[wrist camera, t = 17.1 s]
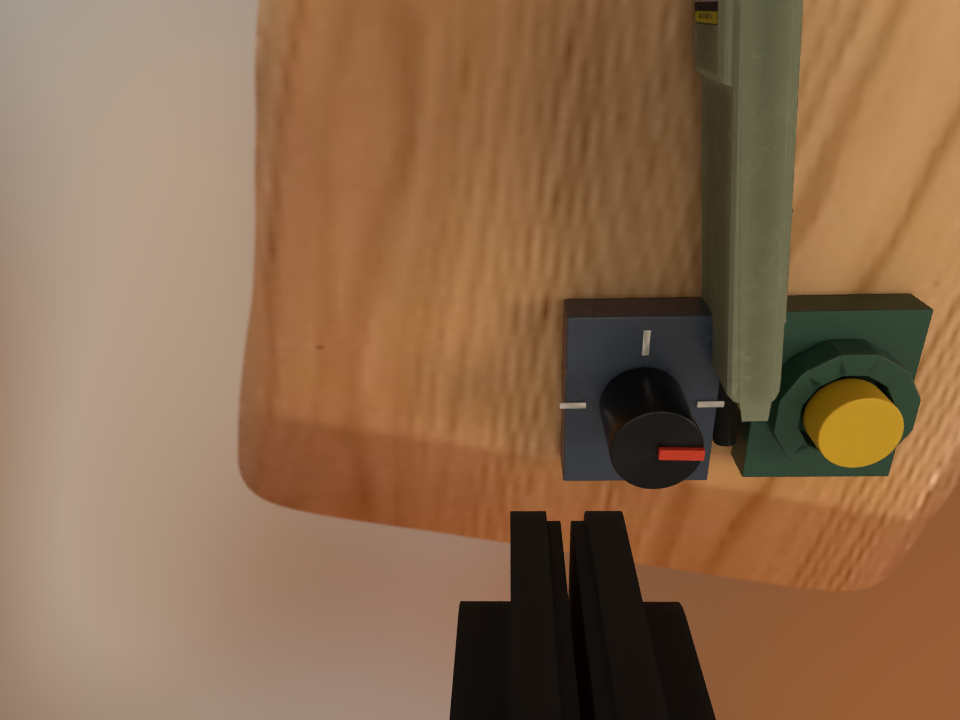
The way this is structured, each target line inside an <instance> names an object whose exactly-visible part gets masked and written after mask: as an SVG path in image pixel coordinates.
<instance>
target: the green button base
mask: <svg viewBox="0 0 960 720" xmlns="http://www.w3.org/2000/svg"><path fill="white" fill-rule="evenodd" d="M932 313H933V309H932V308H930V307H929V306H927V305H926V304H925V303H923V302H922V301H920V300H919V299H918V298H916V297H915V296H913V295H912V294H872V295H813V296H787V309H786V321H787V322H786V323H785V324H784V338H783V354H782V370H781V382H780V391H779V393H778V395H777V397H776V398H775V399H774V401H772V402H771V407H770V412H769V418H768V421H742V419H741V412H740V409H739V408H738V415H737V442H736V443H735V444H734V445H733V449H732V457H733V459H734V461H735V463H736V465H737V467H738V469H739V471H740V473H741V475H742V477H809V476H888V475H889V471H890V468H891V464H892V460H893V457H894V453H895V449H896V447H897V446H898V445H899V444H900V443H901V442H902V441H903V440H904V439H905V438H906V437H907V435H908V434H909V433H910V432H911V431H912V430H913V426H914V422H915V419H916V415H917V412H918V408H919V405H920V401H921V400H920V396H919V394H918V391H917V389H916V386H915V384H914V379H915V375H916V372H917V368H918V364H919V361H920V357H921V353H922V350H923V346H924V342H925V339H926V335H927V331H928V328H929V324H930V320H931V316H932ZM850 378H853V379H861V380H865V381H868V382H870V383H872V384H874V385H875V386H876V387H877V388H878V389H879V390H880V391H881V392H882V393H883V394H884V395H885V396H886V397H887V398H888V399H889V400H890V401H891V402H892V403H893V404H894V405H895V406H896V407H897V408H898V409H899V411H900V412H901V414H902V417H903V421H904V430H903V435H902V437H901V440H900V441H899V443H898V445H897V446H896V447H895V449H894V450H893V451H892V452H891V453H890V454H889V455H887V456H886V457H885V458H883V459H881V460H880V461H878V462H876V463H873V464H871V465H867V466H864V467H856V468H849V467H842V466H838V465H836V464H834V463H832V462H830V461H828V460H827V459H826V458H825V457H824V456H823V455H822V453H821V452H820V451H819V449H818V448H817V446H816V445H815V443H814V442H813V441H812V439H811V438H810V436H809V435H808V433H807V432H806V430H805V427H804V423H803V416H804V411H805V408H806V405H807V403H808V402H809V400H810V399H811V397H812V396H813V395H814V394H815V393H816V392H817V391H818V390H820V389H821V388H823V387H824V386H826V385H828V384H830V383H832V382H834V381H838V380H842V379H850Z"/></svg>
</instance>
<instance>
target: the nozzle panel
mask: <svg viewBox="0 0 960 720" xmlns="http://www.w3.org/2000/svg"><path fill="white" fill-rule="evenodd" d="M712 328H713V316H712V313H711V312H710V310H709V308H708V306H707V304H706V303H705V301H704V299H703V298H648V299H589V300H564V315H563V362H562V402H559V408H560V409H561V464H562V473H563V480H564V481H602V480H624V479H623V478H621V477H620V476H619V475H618V474H617V472H616V471H615V469H614V467H613V466H612V463H611V459H610V455H609V450H608V446H607V442H606V437H605V433H604V428H603V424H602V419H601V415H600V399H601V396H602V393H603V391H604V389H605V388H606V386H607V385H608V384H609V383H610V382H611V381H612V380H613V379H614V378H615V377H617V376H618V375H620V374H622V373H623V372H626V371H628V370H632V369H636V368H653V369H658V370H661V371H663V372H665V373H667V374H669V375H670V376H672V377H673V378H674V379H675V380H676V381H677V382H678V384H679V386H680V387H681V389H682V392H683V394H684V396H685V398H686V400H687V403H688V405H689V407H690V409H691V411H692V414H693V416H694V418H695V420H696V423H697V425H698V427H699V429H700V431H701V434H702V436H703V440H704V449H705V457H704V461H701V462H700V464H699V465H698V467H697V468H696V470H695V471H694V472H693V473H692V474H691V475H690V476H689V477H687V478H686V479H685V480H707V475H708V467H709V460H710V452H711V445H712V437H713V430H714V422H715V415H716V407H724V402H725V401H724V400H718V392H719V385H720V380H719V378H718V376H717V373H716V371H715V369H714V367H713V365H712Z"/></svg>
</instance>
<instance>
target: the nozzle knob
mask: <svg viewBox="0 0 960 720" xmlns="http://www.w3.org/2000/svg"><path fill="white" fill-rule="evenodd" d="M600 415H601V419H602V424H603V428H604V433H605V437H606V442H607V446H608V450H609V455H610V459H611V463H612V466H613V467H614V469H615V471H616V472H617V474H618V475H619V476H620V477H621V478H623V479H624V480H625V481H627V482H628V483H630V484H632V485H634V486H637V487H641V488H646V489H660V488H666V487H670V486H673V485H676V484H678V483H680V482H682V481H683V480H685V479H686V478H687V477H689V476H690V475H691V474H692V473H693V472H694V471H695V470H696V468H697V467H698V465H699V464H700V462H701V461H704V457H705V449H704V440H703V436H702V434H701V431H700V429H699V427H698V425H697V423H696V420H695V418H694V416H693V414H692V411H691V409H690V407H689V405H688V403H687V400H686V398H685V396H684V394H683V392H682V389H681V387H680V386H679V384H678V382H677V381H676V380H675V379H674V378H673V377H672V376H670V375H669V374H667V373H665V372H663V371H661V370H658V369H653V368H636V369H632V370H628V371H626V372H623V373H622V374H620V375H618V376H617V377H615V378H614V379H613V380H612V381H611V382H610V383H609V384H608V385H607V386H606V388H605V389H604V391H603V393H602V396H601V399H600Z"/></svg>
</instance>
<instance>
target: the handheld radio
mask: <svg viewBox="0 0 960 720" xmlns="http://www.w3.org/2000/svg"><path fill="white" fill-rule="evenodd" d="M802 12H803V0H695V68H696V70H697V72H698V73H700V74H702V298H703V299H704V301H705V303H706V304H707V306H708V308H709V310H710V312H711V313H712V316H713V328H712V365H713V367H714V369H715V371H716V373H717V376H718V378H719V380H720V385H719V392H718V400H724V401H725V402H724V407H716V415H715V422H714V430H713V441H714V443H716V444H717V445H720V446H732V445H734V444H735V443H736V442H737V412H738V408H739V409H740V412H741V419H742V421H768V418H769V412H770V407H771V402H772V401H774V399H775V398H776V397H777V395H778V393H779V391H780V382H781V370H782V354H783V338H784V324H785V323H786V322H787V321H786V309H787V291H788V274H789V257H790V240H791V223H792V213H793V209H792V198H793V180H794V162H795V143H796V124H797V106H798V87H799V68H800V49H801V31H802Z"/></svg>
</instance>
